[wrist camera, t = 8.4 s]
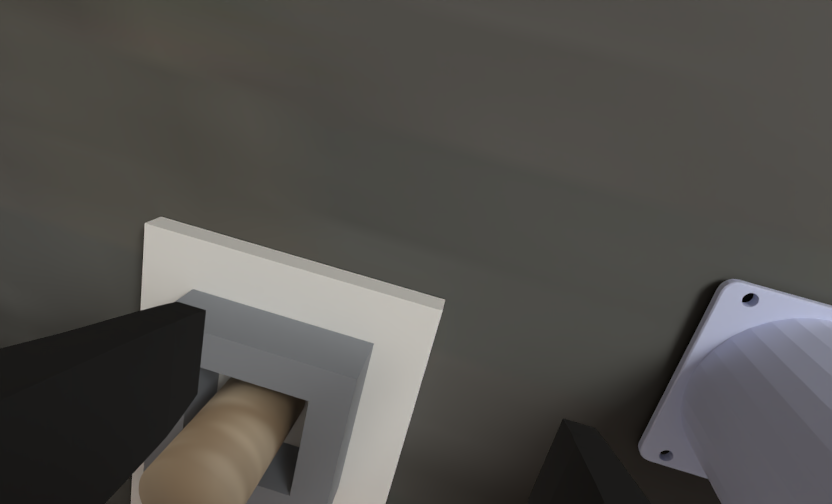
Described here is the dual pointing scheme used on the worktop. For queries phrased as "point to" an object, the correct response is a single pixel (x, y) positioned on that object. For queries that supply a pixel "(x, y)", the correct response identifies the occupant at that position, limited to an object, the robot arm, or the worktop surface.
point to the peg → (222, 448)
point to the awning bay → (299, 356)
